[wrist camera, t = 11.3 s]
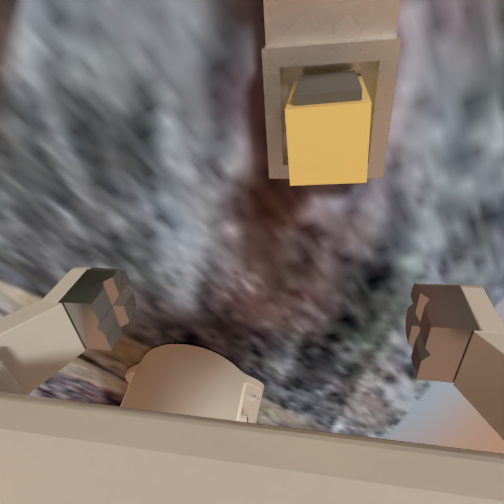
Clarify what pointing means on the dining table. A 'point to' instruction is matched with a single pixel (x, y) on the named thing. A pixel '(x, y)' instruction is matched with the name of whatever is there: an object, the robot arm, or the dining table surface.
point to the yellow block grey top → (328, 129)
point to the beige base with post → (329, 63)
